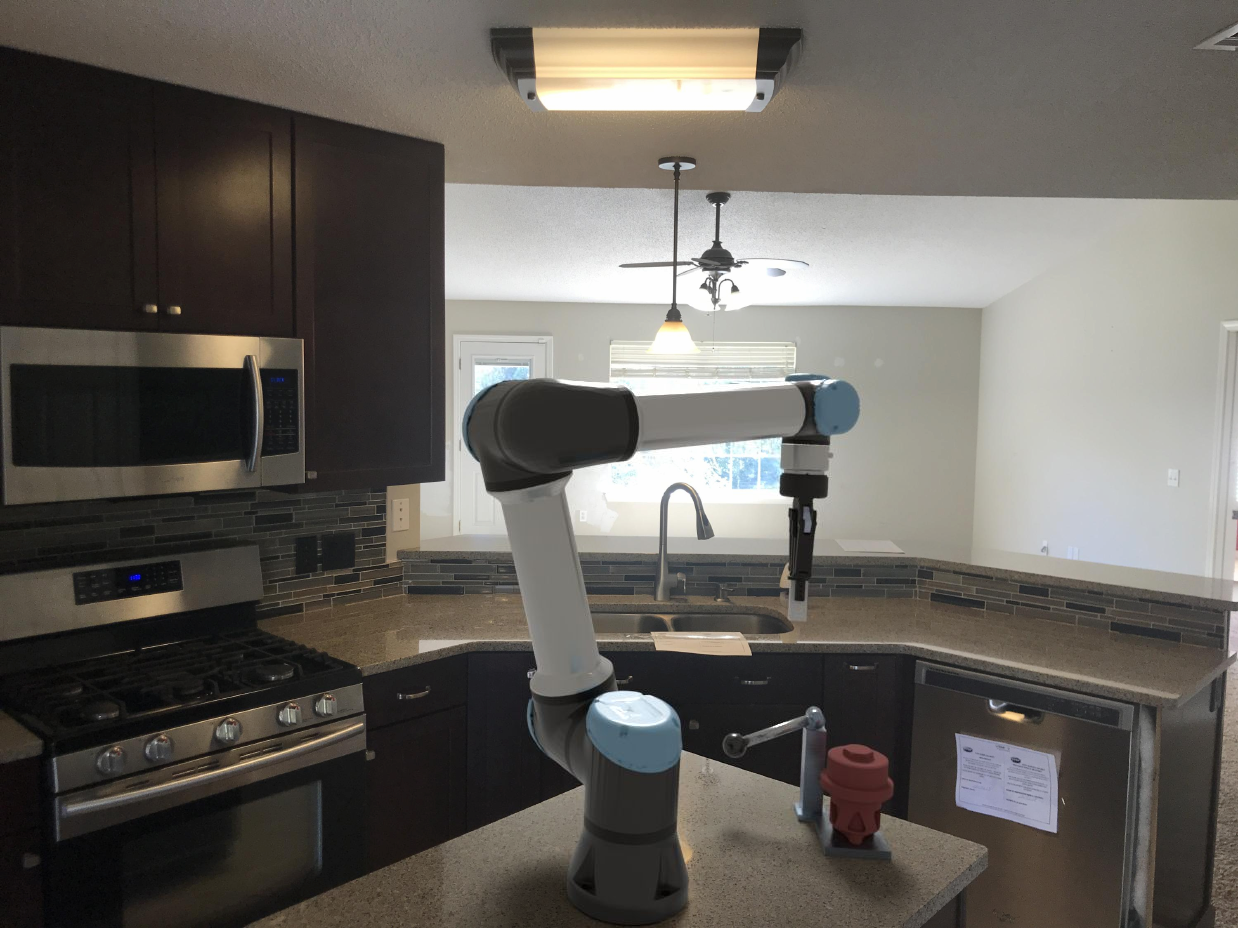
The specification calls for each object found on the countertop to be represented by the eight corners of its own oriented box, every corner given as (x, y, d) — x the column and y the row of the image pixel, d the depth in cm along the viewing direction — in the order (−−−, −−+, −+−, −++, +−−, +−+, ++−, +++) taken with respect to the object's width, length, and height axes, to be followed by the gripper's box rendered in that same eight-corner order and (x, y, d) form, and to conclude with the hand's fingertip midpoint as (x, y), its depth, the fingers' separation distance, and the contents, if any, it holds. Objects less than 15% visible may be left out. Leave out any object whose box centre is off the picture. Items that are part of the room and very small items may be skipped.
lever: (728, 764, 127) (720, 742, 127) (727, 755, 131) (718, 733, 131) (829, 730, 126) (820, 707, 126) (824, 721, 130) (816, 700, 130)
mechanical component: (886, 822, 124) (894, 855, 114) (816, 814, 126) (819, 845, 116) (890, 740, 124) (899, 766, 114) (820, 732, 125) (823, 757, 116)
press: (808, 853, 116) (813, 757, 116) (793, 807, 131) (798, 721, 130) (891, 860, 115) (896, 763, 115) (867, 812, 130) (871, 726, 130)
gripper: (836, 475, 126) (828, 630, 127) (821, 471, 139) (814, 612, 140) (785, 473, 127) (778, 627, 128) (775, 469, 140) (768, 610, 141)
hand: (797, 619), depth 134 cm, fingers closed
